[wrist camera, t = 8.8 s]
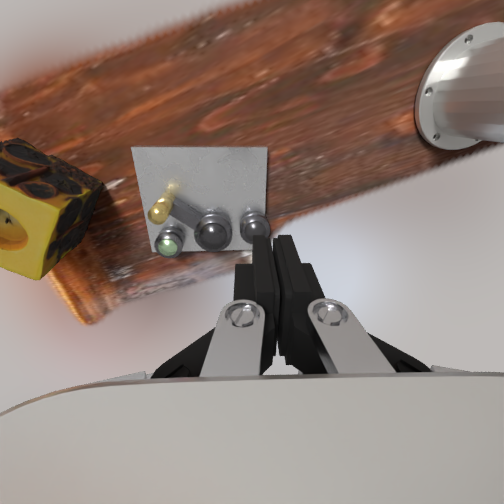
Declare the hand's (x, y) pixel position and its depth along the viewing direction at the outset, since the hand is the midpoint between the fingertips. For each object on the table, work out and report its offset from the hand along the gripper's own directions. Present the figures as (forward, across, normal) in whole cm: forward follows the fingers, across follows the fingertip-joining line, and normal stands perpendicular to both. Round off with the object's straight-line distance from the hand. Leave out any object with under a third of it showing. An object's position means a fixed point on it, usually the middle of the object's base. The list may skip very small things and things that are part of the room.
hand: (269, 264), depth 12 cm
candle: (+24, +26, +4) cm, 36 cm away
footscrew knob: (+23, +8, +7) cm, 25 cm away
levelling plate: (+24, +6, +5) cm, 26 cm away
